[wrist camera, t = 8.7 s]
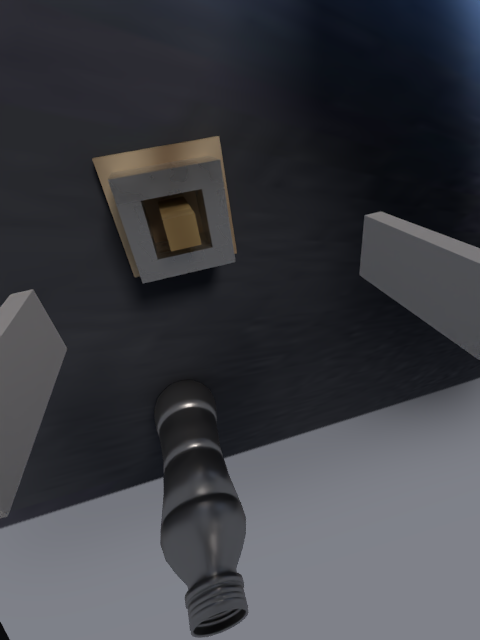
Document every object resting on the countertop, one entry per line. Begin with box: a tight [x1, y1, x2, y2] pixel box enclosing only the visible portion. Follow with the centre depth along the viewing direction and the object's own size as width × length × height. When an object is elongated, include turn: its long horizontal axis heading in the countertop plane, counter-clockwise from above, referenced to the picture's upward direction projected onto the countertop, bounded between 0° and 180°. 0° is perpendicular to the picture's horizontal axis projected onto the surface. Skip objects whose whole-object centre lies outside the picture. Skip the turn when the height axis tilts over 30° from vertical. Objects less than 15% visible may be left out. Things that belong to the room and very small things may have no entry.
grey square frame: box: [108, 155, 235, 284], centre depth 23 cm, size 7×7×4 cm
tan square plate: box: [92, 136, 237, 277], centre depth 22 cm, size 9×9×7 cm
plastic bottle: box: [154, 380, 248, 637], centre depth 27 cm, size 6×7×20 cm
